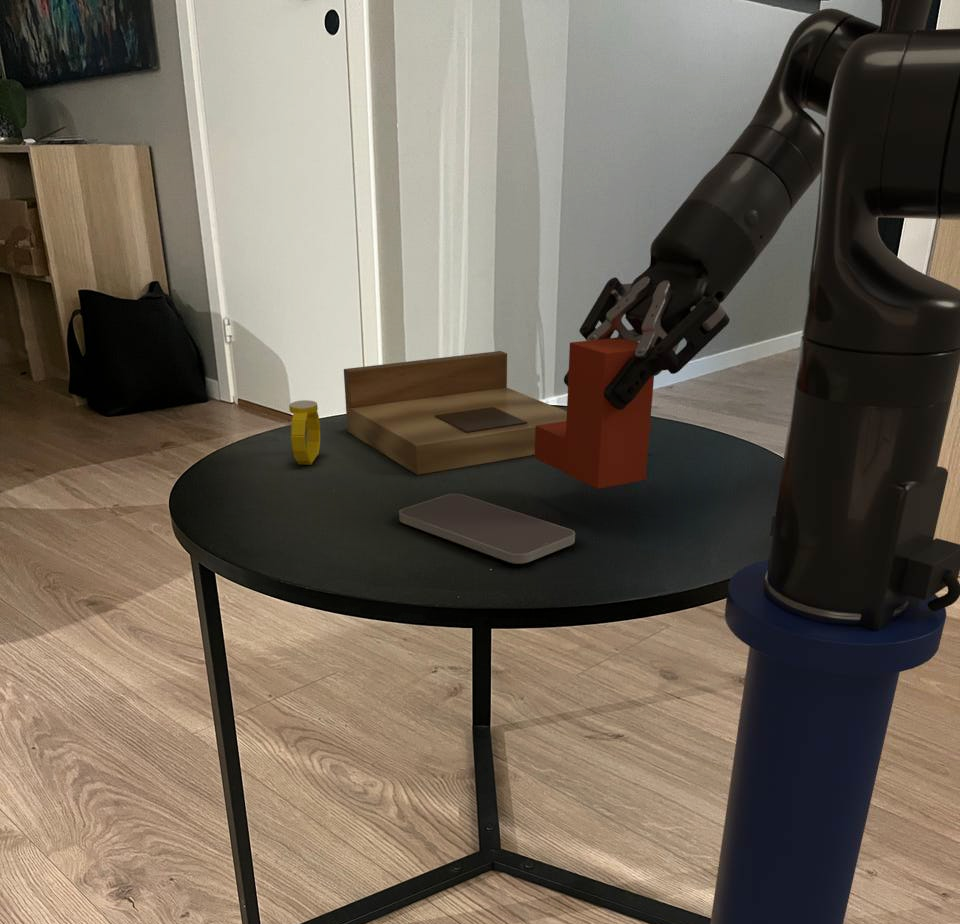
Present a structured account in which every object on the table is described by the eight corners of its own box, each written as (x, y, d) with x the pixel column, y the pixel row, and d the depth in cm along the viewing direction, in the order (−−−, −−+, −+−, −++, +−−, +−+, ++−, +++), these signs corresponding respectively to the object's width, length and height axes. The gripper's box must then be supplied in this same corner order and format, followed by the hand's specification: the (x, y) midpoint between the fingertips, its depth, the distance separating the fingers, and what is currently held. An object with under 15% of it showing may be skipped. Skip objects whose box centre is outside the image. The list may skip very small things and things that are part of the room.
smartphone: (455, 491, 90) (581, 532, 80) (455, 501, 90) (580, 543, 81) (393, 511, 85) (518, 557, 76) (393, 521, 86) (518, 568, 76)
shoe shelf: (584, 446, 106) (587, 380, 103) (417, 475, 97) (414, 404, 94) (500, 409, 120) (500, 350, 117) (347, 431, 111) (343, 368, 108)
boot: (645, 480, 83) (656, 347, 78) (597, 489, 81) (605, 353, 76) (579, 450, 91) (585, 327, 86) (533, 458, 89) (536, 332, 84)
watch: (303, 452, 104) (298, 395, 102) (328, 452, 104) (324, 396, 101) (287, 469, 99) (281, 410, 96) (313, 470, 99) (309, 411, 96)
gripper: (804, 273, 77) (669, 444, 77) (685, 255, 88) (567, 405, 88) (762, 200, 72) (618, 383, 72) (642, 191, 83) (517, 350, 83)
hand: (591, 394), depth 80 cm, fingers closed on boot, 5 cm apart
